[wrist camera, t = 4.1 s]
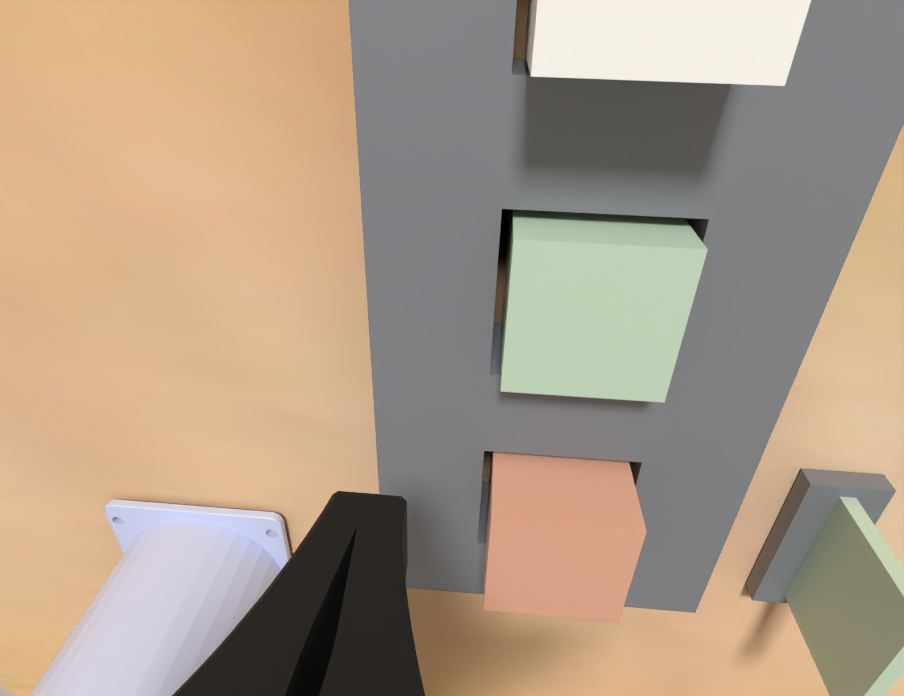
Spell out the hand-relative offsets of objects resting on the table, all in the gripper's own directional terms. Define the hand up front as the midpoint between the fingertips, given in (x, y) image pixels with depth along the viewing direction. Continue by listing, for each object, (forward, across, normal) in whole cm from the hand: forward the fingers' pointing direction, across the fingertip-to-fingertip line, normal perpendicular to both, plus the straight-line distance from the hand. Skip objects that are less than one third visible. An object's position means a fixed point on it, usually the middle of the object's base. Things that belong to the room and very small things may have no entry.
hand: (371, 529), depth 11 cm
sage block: (+9, -5, -2) cm, 11 cm away
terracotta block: (+8, -5, +6) cm, 11 cm away
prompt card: (+9, -16, +9) cm, 21 cm away
